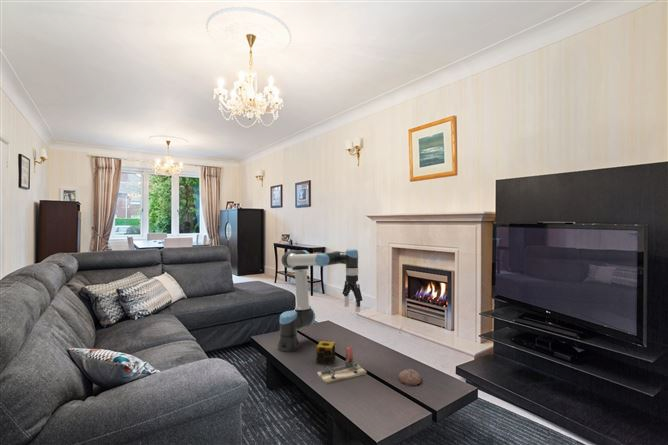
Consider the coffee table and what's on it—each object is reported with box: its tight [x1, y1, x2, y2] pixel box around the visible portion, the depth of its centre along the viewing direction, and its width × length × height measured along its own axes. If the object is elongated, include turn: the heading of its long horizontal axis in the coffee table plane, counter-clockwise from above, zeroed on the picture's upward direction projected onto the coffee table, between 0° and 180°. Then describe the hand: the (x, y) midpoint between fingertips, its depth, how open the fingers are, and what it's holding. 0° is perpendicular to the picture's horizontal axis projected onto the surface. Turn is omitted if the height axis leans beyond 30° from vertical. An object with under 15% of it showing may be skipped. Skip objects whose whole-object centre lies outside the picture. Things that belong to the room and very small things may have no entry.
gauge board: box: [317, 364, 368, 385], centre depth 181 cm, size 12×25×1 cm, turn 117°
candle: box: [315, 340, 336, 365], centre depth 199 cm, size 10×10×10 cm
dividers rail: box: [320, 362, 359, 378], centre depth 181 cm, size 9×23×3 cm, turn 117°
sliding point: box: [344, 345, 357, 372], centre depth 184 cm, size 10×4×11 cm, turn 27°
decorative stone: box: [397, 368, 422, 386], centre depth 174 cm, size 12×12×6 cm
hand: (352, 309), depth 198 cm, fingers open, 13 cm apart
